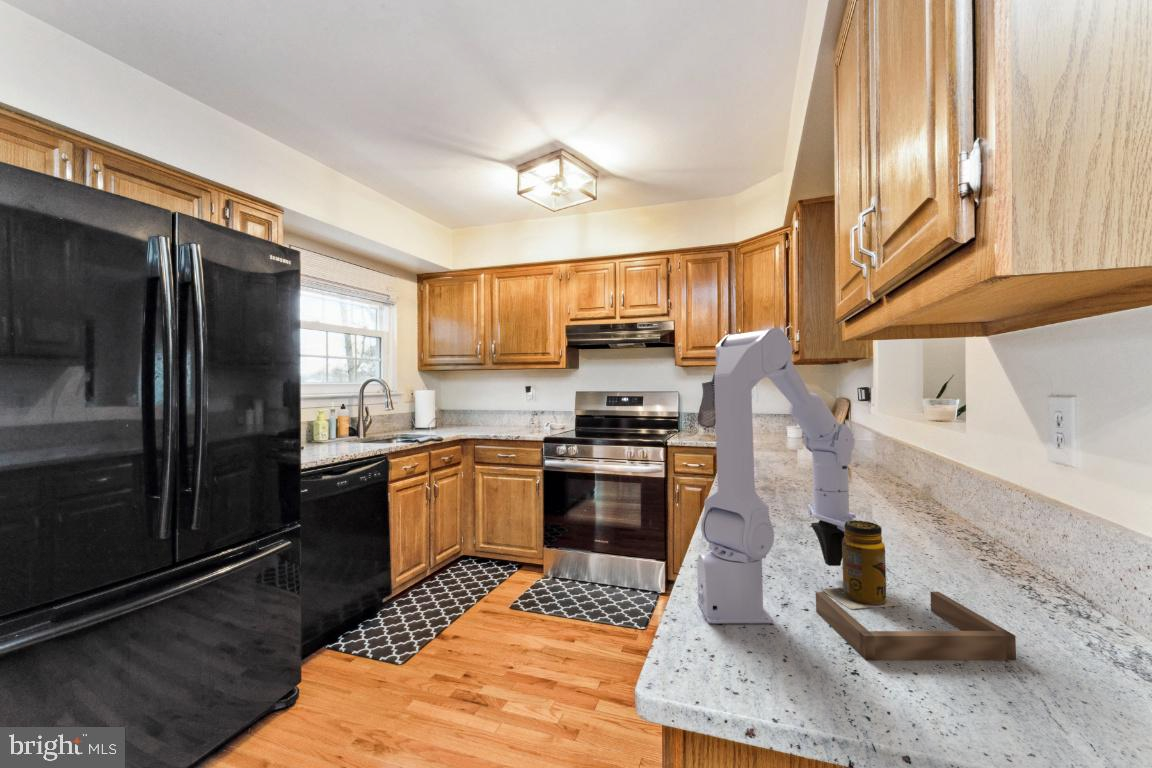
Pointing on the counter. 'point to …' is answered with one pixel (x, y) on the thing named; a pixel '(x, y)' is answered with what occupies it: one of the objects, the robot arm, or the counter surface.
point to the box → (924, 635)
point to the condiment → (862, 567)
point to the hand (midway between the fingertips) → (832, 564)
